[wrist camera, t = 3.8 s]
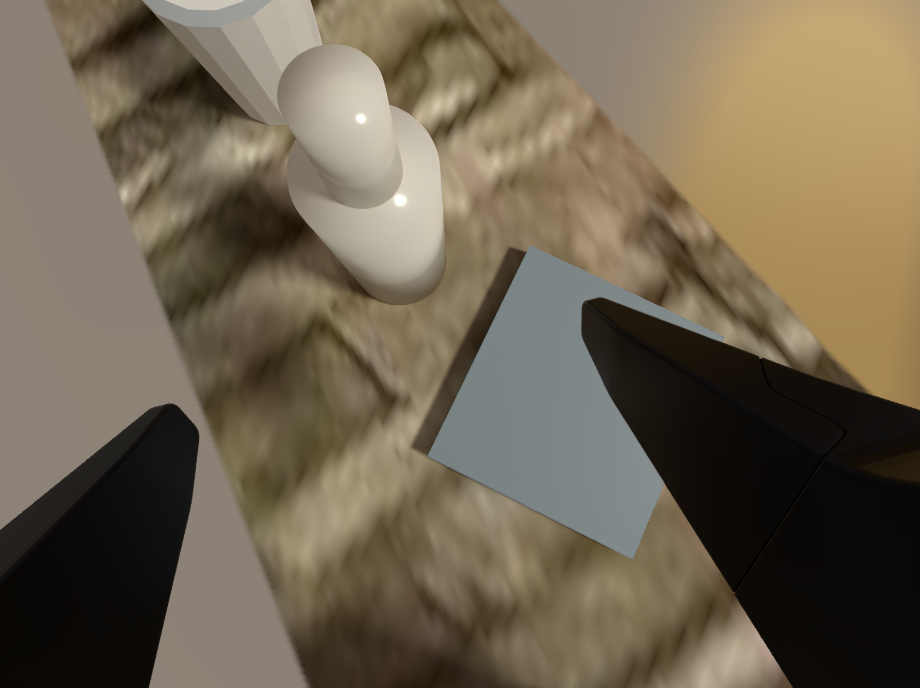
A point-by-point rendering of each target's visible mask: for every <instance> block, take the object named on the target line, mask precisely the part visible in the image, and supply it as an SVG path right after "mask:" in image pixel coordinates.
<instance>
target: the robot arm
mask: <svg viewBox="0 0 920 688" xmlns="http://www.w3.org/2000/svg"><path fill="white" fill-rule="evenodd" d="M581 335H582V339H583V341H584V344H585V346H586V348H587V350H588V352H589V354H590V356H591V358H592V361H593V363H594V365H595V367H596V369H597V371H598V373H599V375H600V378H601V380H602V382H603V384H604V386H605V388H606V390H607V392H608V394H609V396H610V397H611V399H612V401H613V403H614V404H615V406H616V407H617V409H618V411H619V412H620V414H621V415H622V417H623V418H624V420H625V422H626V423H627V425H628V426H629V428H630V430H631V431H632V433H633V434H634V436H635V437H636V439H637V441H638V442H639V444H640V445H641V447H642V449H643V450H644V452H645V453H646V455H647V456H648V458H649V460H650V461H651V463H652V464H653V466H654V468H655V469H656V471H657V472H658V474H659V476H660V477H661V479H662V480H663V482H664V483H665V485H666V487H667V488H668V490H669V491H670V493H671V495H672V496H673V498H674V499H675V501H676V502H677V504H678V506H679V507H680V509H681V510H682V512H683V514H684V515H685V517H686V518H687V520H688V521H689V523H690V525H691V526H692V528H693V529H694V531H695V533H696V534H697V536H698V537H699V539H700V541H701V542H702V544H703V545H704V547H705V548H706V550H707V552H708V553H709V555H710V556H711V558H712V560H713V561H714V563H715V564H716V566H717V567H718V569H719V571H720V572H721V574H722V575H723V577H724V579H725V580H726V582H727V583H728V585H729V586H730V588H731V590H732V591H733V592H735V593H734V595H735V596H736V598H737V600H738V601H739V603H740V604H741V606H742V608H743V609H744V611H745V612H746V614H747V616H748V617H749V619H750V620H751V622H752V623H753V625H754V627H755V628H756V630H757V631H758V633H759V635H760V636H761V638H762V639H763V641H764V642H765V644H766V646H767V647H768V649H769V650H770V652H771V654H772V655H773V657H774V658H775V660H776V662H777V663H778V665H779V666H780V668H781V669H782V671H783V673H784V674H785V676H786V677H787V679H788V681H789V682H790V684H791V685H792V687H793V688H920V410H918V409H915V408H912V407H909V406H906V405H902V404H899V403H896V402H893V401H890V400H886V399H883V398H880V397H877V396H873V395H870V394H867V393H864V392H861V391H857V390H854V389H851V388H848V387H845V386H842V385H839V384H836V383H833V382H830V381H827V380H823V379H820V378H817V377H815V376H812V375H809V374H806V373H803V372H801V371H798V370H795V369H792V368H789V367H787V366H784V365H781V364H779V363H776V362H773V361H771V360H768V359H765V358H761V359H760V358H759V356H757V355H754V354H752V353H749V352H747V351H744V350H741V349H739V348H736V347H733V346H731V345H728V344H725V343H723V342H720V341H717V340H715V339H712V338H709V337H707V336H704V335H701V334H699V333H696V332H693V331H691V330H688V329H685V328H683V327H680V326H678V325H675V324H672V323H670V322H667V321H664V320H662V319H659V318H656V317H654V316H651V315H648V314H646V313H643V312H640V311H638V310H635V309H632V308H630V307H627V306H624V305H622V304H619V303H616V302H614V301H611V300H609V299H606V298H603V297H598V298H594V299H590V300H586V301H584V302H583V304H582V312H581ZM198 445H199V432H198V430H197V427H196V426H195V425H194V424H193V423H192V422H191V420H190V419H189V418H188V417H187V416H186V415H185V414H184V412H183V411H182V410H181V409H180V408H179V407H178V406H177V405H175V404H165V405H161V406H157V407H153V408H151V409H149V410H148V411H147V412H145V413H144V414H143V415H142V416H140V417H139V418H138V419H137V420H136V421H135V422H133V423H132V424H131V425H129V426H128V427H127V428H126V429H124V430H123V431H122V432H121V433H120V434H118V435H117V436H116V437H115V438H113V439H112V440H111V441H110V442H108V443H107V444H106V445H105V446H103V447H102V448H101V449H100V450H99V451H97V452H96V453H95V454H94V455H92V456H91V457H90V458H89V459H87V460H86V461H85V462H84V463H82V464H81V465H80V466H79V467H77V468H76V469H75V470H74V471H73V472H71V473H70V474H69V475H68V476H67V477H65V478H64V479H63V480H61V481H60V482H59V483H58V484H57V485H55V486H54V487H53V488H52V489H50V490H49V491H48V492H47V493H45V494H44V495H43V496H42V497H40V498H39V499H38V500H37V501H35V502H34V503H33V504H32V505H31V506H29V507H28V508H27V509H26V510H24V511H23V512H22V513H21V514H19V515H18V516H17V517H16V518H14V519H13V520H12V521H11V522H10V523H8V524H7V525H6V526H5V527H3V528H2V529H1V530H0V688H149V685H150V680H151V676H152V672H153V667H154V663H155V659H156V655H157V650H158V646H159V641H160V637H161V633H162V628H163V624H164V620H165V615H166V611H167V607H168V603H169V598H170V594H171V590H172V586H173V581H174V576H175V573H176V568H177V564H178V560H179V556H180V551H181V547H182V543H183V538H184V534H185V529H186V526H187V521H188V517H189V512H190V508H191V503H192V496H193V495H192V494H193V488H194V480H195V471H196V462H197V454H198Z"/></svg>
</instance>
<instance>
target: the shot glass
mask: <svg viewBox="0 0 920 688" xmlns="http://www.w3.org/2000/svg"><path fill="white" fill-rule="evenodd" d="M142 1H143V2H144V3H145V4H146V5H147V6H148V7H149V8H150V9H151V11H152V12H153V13H154V14H155V15H156V16H157V17H158V18H159V19H160V20H161V21H162V22H163V24H164V25H165V26H166V27H167V28H168V29H169V30H170V31H171V32H172V33H173V34H174V35H175V37H176V38H177V39H178V40H179V41H180V42H181V43H182V44H183V45H184V46H185V47H186V48H187V50H188V51H189V52H190V53H191V54H192V55H193V56H194V57H195V58H196V59H197V60H198V61H199V63H200V64H201V65H202V66H203V67H204V68H205V69H206V70H207V71H208V72H209V73H210V75H211V76H212V77H213V78H214V79H215V80H216V81H217V82H218V83H219V84H220V85H221V86H222V88H223V89H224V90H225V91H226V92H227V93H228V94H229V95H230V96H231V97H232V98H233V99H234V101H235V102H236V103H237V104H238V105H239V106H240V107H241V108H242V109H243V110H244V111H245V112H246V113H247V114H248V115H249V116H250V117H251V118H253V119H255V120H258V121H260V122H263V123H265V124H267V125H287V123H286V121H285V120H284V118H283V116H282V114H281V112H280V109H279V106H278V101H277V89H278V84H279V80H280V78H281V75H282V73H283V71H284V70H285V68H286V67H287V65H288V64H289V63H290V62H291V61H292V60H293V59H294V58H295V57H297V56H298V55H299V54H301V53H302V52H304V51H306V50H308V49H310V48H313V47H316V46H320V45H322V41H321V37H320V34H319V30H318V26H317V23H316V19H315V15H314V12H313V8H312V4H311V1H310V0H142Z"/></svg>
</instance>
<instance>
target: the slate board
mask: <svg viewBox="0 0 920 688" xmlns="http://www.w3.org/2000/svg"><path fill="white" fill-rule="evenodd" d="M598 297H603V298H606V299H609V300H611V301H614V302H616V303H619V304H622V305H624V306H627V307H630V308H632V309H635V310H638V311H640V312H643V313H646V314H648V315H651V316H654V317H656V318H659V319H662V320H664V321H667V322H670V323H672V324H675V325H678V326H680V327H683V328H685V329H688V330H691V331H693V332H696V333H699V334H701V335H704V336H707V337H709V338H712V339H715V340H717V341H720V342H722V341H723V339H724V337H723V336H721V335H719V334H717V333H715V332H713V331H711V330H709V329H707V328H704V327H702V326H700V325H698V324H696V323H694V322H692V321H690V320H687V319H685V318H683V317H681V316H679V315H677V314H675V313H673V312H671V311H668V310H666V309H664V308H662V307H660V306H658V305H656V304H654V303H651V302H649V301H647V300H645V299H643V298H641V297H639V296H637V295H635V294H632V293H630V292H628V291H626V290H624V289H622V288H620V287H618V286H615V285H613V284H611V283H609V282H607V281H605V280H603V279H601V278H598V277H596V276H594V275H592V274H590V273H588V272H586V271H584V270H582V269H579V268H577V267H575V266H573V265H571V264H569V263H567V262H565V261H562V260H560V259H558V258H556V257H554V256H552V255H550V254H548V253H546V252H543V251H541V250H539V249H537V248H535V247H533V246H531V245H530V247H529V248H528V250H527V252H526V255H525V257H524V259H523V261H522V263H521V265H520V267H519V269H518V271H517V273H516V275H515V277H514V279H513V281H512V283H511V285H510V287H509V289H508V292H507V294H506V296H505V298H504V300H503V302H502V304H501V306H500V308H499V310H498V312H497V314H496V316H495V318H494V320H493V322H492V324H491V326H490V328H489V331H488V333H487V335H486V337H485V339H484V341H483V343H482V345H481V347H480V349H479V351H478V353H477V355H476V357H475V359H474V361H473V363H472V365H471V368H470V370H469V372H468V374H467V376H466V378H465V380H464V382H463V384H462V386H461V388H460V390H459V392H458V394H457V396H456V398H455V400H454V402H453V405H452V407H451V409H450V411H449V413H448V415H447V417H446V419H445V421H444V423H443V425H442V427H441V429H440V431H439V433H438V435H437V437H436V439H435V441H434V444H433V446H432V448H431V450H430V452H429V454H428V457H430V458H432V459H434V460H436V461H438V462H440V463H442V464H444V465H446V466H448V467H450V468H452V469H454V470H456V471H458V472H460V473H462V474H464V475H466V476H468V477H470V478H472V479H474V480H476V481H478V482H480V483H482V484H484V485H486V486H488V487H490V488H492V489H494V490H496V491H498V492H500V493H502V494H504V495H506V496H508V497H510V498H511V499H513V500H515V501H517V502H519V503H521V504H523V505H525V506H527V507H529V508H531V509H533V510H535V511H537V512H539V513H541V514H543V515H545V516H547V517H549V518H551V519H553V520H555V521H557V522H559V523H561V524H563V525H565V526H567V527H569V528H571V529H573V530H575V531H577V532H579V533H581V534H583V535H585V536H587V537H589V538H591V539H593V540H595V541H597V542H599V543H601V544H603V545H605V546H607V547H609V548H611V549H613V550H615V551H617V552H619V553H621V554H623V555H625V556H627V557H629V558H631V559H633V558H634V555H635V553H636V550H637V548H638V545H639V543H640V541H641V538H642V536H643V533H644V531H645V528H646V526H647V524H648V521H649V519H650V516H651V514H652V511H653V509H654V507H655V504H656V502H657V499H658V497H659V494H660V492H661V490H662V487H663V485H664V482H663V480H662V479H661V477H660V476H659V474H658V472H657V471H656V469H655V468H654V466H653V464H652V463H651V461H650V460H649V458H648V456H647V455H646V453H645V452H644V450H643V449H642V447H641V445H640V444H639V442H638V441H637V439H636V437H635V436H634V434H633V433H632V431H631V430H630V428H629V426H628V425H627V423H626V422H625V420H624V418H623V417H622V415H621V414H620V412H619V411H618V409H617V407H616V406H615V404H614V403H613V401H612V399H611V397H610V396H609V394H608V392H607V390H606V388H605V386H604V384H603V382H602V380H601V378H600V375H599V373H598V371H597V369H596V367H595V365H594V363H593V361H592V358H591V356H590V354H589V352H588V350H587V348H586V346H585V344H584V341H583V339H582V335H581V312H582V304H583V302H584V301H586V300H590V299H594V298H598Z"/></svg>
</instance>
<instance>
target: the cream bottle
mask: <svg viewBox="0 0 920 688" xmlns="http://www.w3.org/2000/svg"><path fill="white" fill-rule="evenodd" d="M277 101H278V106H279V109H280V112H281V114H282V116H283V118H284V120H285V121H286V123H287V125H288V126H289V128H290V129H291V131H292V133H293V134H294V136H295V137H296V141H295V143H294V145H293V147H292V149H291V152H290V155H289V159H288V164H287V185H288V190H289V194H290V197H291V199H292V202H293V204H294V206H295V208H296V209H297V211H298V212H299V214H300V215H301V216H302V218H303V219H304V220H305V221H306V223H307V224H308V225H309V226H310V227H311V228H312V229H313V231H314V232H315V233H316V234H317V235H318V236H319V238H320V239H321V240H322V241H323V242H324V243H325V244H326V246H327V247H328V248H329V249H330V250H331V251H332V252H333V254H334V255H335V256H336V257H337V258H338V259H339V261H340V262H341V263H342V264H343V265H344V266H345V267H346V269H347V270H348V271H349V272H350V273H351V274H352V276H353V277H354V278H355V279H356V280H357V281H358V282H359V284H360V285H361V286H362V287H363V288H364V289H365V290H366V291H367V292H368V293H369V294H370V295H371V296H372V297H374V298H375V299H377V300H379V301H381V302H384V303H387V304H391V305H408V304H412V303H416V302H418V301H420V300H422V299H424V298H426V297H427V296H428V295H430V294H431V293H432V292H433V291H434V290H435V289H436V287H437V286H438V285H439V283H440V282H441V280H442V277H443V275H444V272H445V267H446V250H445V236H444V221H443V206H442V192H441V177H440V165H439V157H438V154H437V150H436V147H435V145H434V143H433V140H432V139H431V137H430V135H429V134H428V132H427V131H426V130H425V128H424V127H423V126H422V125H421V124H420V123H419V122H418V121H417V120H416V119H415V118H414V117H412V116H411V115H409V114H408V113H407V112H405V111H403V110H401V109H399V108H397V107H394V106H392V105H389V102H388V98H387V94H386V89H385V85H384V81H383V77H382V75H381V73H380V71H379V69H378V67H377V66H376V64H375V63H374V62H373V61H372V60H371V59H370V58H369V57H368V56H367V55H365V54H364V53H362V52H361V51H359V50H357V49H354V48H352V47H349V46H345V45H338V44H327V45H320V46H316V47H313V48H310V49H308V50H306V51H304V52H302V53H301V54H299V55H298V56H297V57H295V58H294V59H293V60H292V61H291V62H290V63H289V64H288V65H287V67H286V68H285V70H284V71H283V73H282V75H281V78H280V80H279V84H278V89H277Z"/></svg>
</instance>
